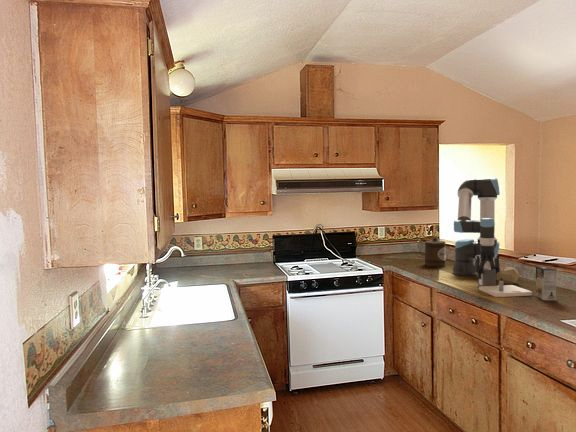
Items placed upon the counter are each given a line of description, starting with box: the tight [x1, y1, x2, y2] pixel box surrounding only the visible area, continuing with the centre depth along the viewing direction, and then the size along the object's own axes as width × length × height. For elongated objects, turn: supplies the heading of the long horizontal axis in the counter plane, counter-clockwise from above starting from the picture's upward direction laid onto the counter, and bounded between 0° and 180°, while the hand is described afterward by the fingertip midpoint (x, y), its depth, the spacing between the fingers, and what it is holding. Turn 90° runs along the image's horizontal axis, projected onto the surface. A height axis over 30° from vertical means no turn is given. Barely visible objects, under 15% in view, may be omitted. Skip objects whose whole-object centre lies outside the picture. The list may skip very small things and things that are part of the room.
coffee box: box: [535, 265, 557, 301], centre depth 206 cm, size 9×6×16 cm
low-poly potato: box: [496, 266, 520, 285], centre depth 240 cm, size 15×11×12 cm
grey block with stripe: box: [477, 266, 497, 288], centre depth 231 cm, size 7×7×12 cm
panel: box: [478, 281, 533, 298], centre depth 219 cm, size 16×20×7 cm
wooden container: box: [424, 236, 446, 268], centre depth 304 cm, size 15×15×22 cm
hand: (487, 284), depth 231 cm, fingers closed on grey block with stripe, 7 cm apart
